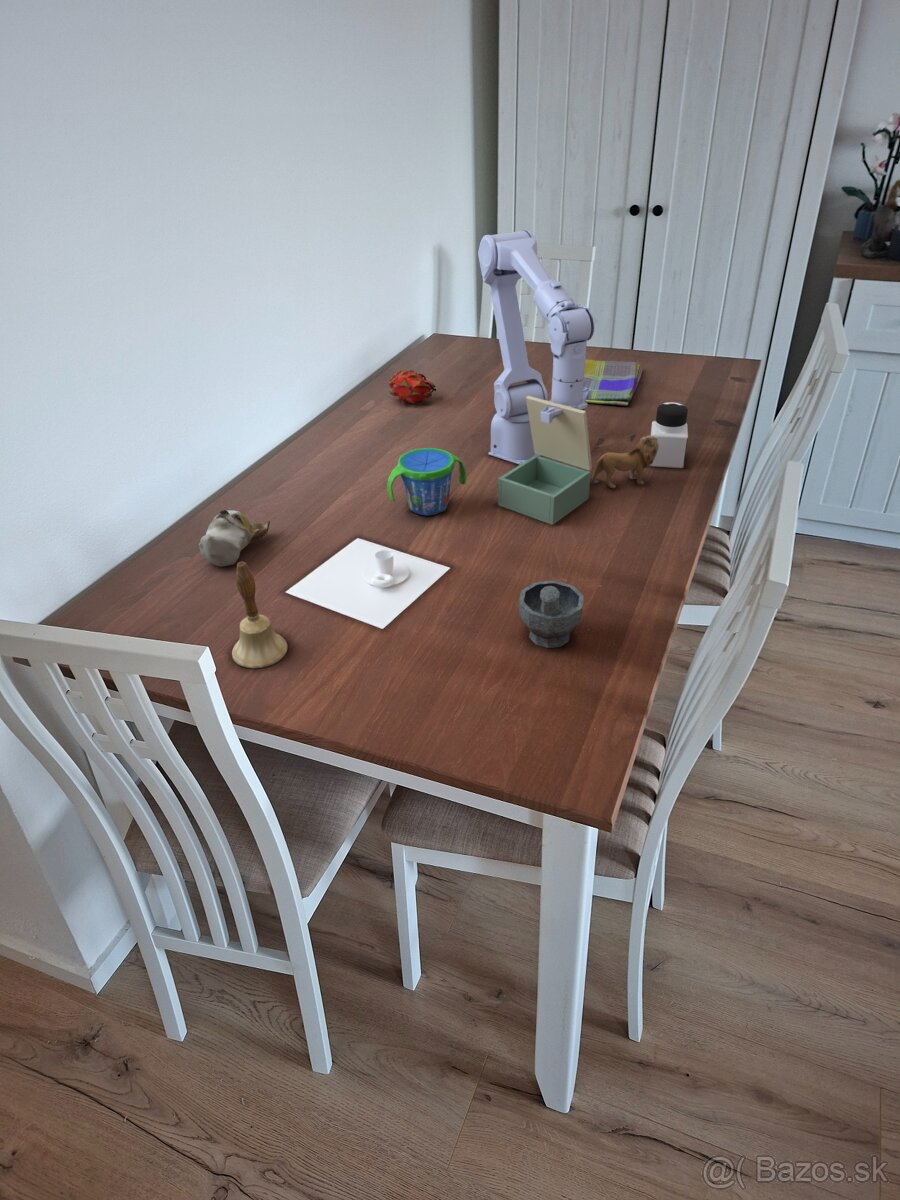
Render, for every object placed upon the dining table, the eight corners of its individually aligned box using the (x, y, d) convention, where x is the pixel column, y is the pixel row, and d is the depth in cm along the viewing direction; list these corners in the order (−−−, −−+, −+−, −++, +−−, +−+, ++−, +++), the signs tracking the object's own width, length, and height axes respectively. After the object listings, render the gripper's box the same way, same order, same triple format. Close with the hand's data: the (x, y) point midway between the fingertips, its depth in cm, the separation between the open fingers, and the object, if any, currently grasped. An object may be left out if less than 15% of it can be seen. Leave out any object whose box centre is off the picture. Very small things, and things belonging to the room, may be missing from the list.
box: (552, 525, 156) (554, 497, 153) (497, 505, 163) (498, 478, 160) (588, 498, 164) (590, 471, 161) (534, 480, 171) (535, 454, 167)
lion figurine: (646, 470, 173) (651, 429, 168) (660, 481, 169) (666, 440, 164) (582, 483, 169) (585, 441, 164) (594, 495, 165) (598, 452, 160)
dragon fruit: (387, 404, 209) (433, 415, 207) (379, 395, 201) (427, 406, 199) (396, 370, 209) (442, 381, 207) (388, 360, 200) (436, 371, 199)
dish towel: (557, 401, 204) (557, 390, 202) (575, 366, 223) (576, 355, 221) (630, 408, 199) (631, 396, 198) (642, 371, 218) (644, 361, 217)
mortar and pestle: (522, 613, 134) (524, 549, 127) (582, 618, 133) (587, 554, 126) (514, 658, 125) (515, 591, 118) (577, 664, 124) (583, 597, 117)
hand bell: (285, 666, 125) (269, 577, 116) (228, 670, 125) (208, 581, 115) (289, 632, 132) (274, 545, 122) (235, 636, 131) (216, 548, 122)
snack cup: (396, 528, 157) (393, 478, 151) (381, 502, 165) (378, 454, 159) (475, 513, 161) (475, 464, 155) (457, 488, 169) (456, 441, 163)
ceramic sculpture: (177, 526, 142) (213, 489, 154) (186, 571, 146) (220, 531, 159) (238, 531, 140) (269, 493, 152) (245, 576, 145) (275, 536, 157)
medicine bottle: (683, 469, 173) (691, 413, 166) (648, 466, 175) (654, 411, 168) (682, 453, 179) (690, 400, 172) (648, 451, 180) (654, 398, 173)
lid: (583, 413, 151) (586, 411, 151) (525, 397, 157) (527, 395, 158) (589, 470, 160) (592, 468, 161) (534, 453, 167) (537, 451, 167)
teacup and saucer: (389, 595, 139) (387, 575, 137) (350, 582, 143) (348, 561, 140) (418, 570, 145) (417, 550, 143) (380, 557, 149) (379, 538, 146)
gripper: (565, 394, 148) (561, 464, 156) (607, 369, 157) (601, 437, 165) (531, 385, 151) (529, 454, 159) (575, 362, 160) (570, 428, 168)
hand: (564, 445), depth 162 cm, fingers closed
